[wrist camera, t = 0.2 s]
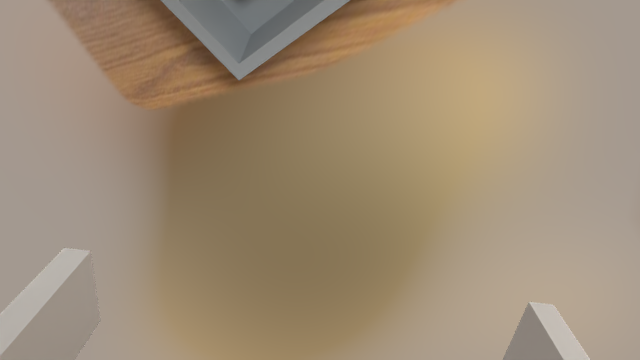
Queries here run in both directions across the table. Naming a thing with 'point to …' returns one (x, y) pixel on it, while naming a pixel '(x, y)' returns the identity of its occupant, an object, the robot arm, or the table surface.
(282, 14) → the grey box
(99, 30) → the table surface
